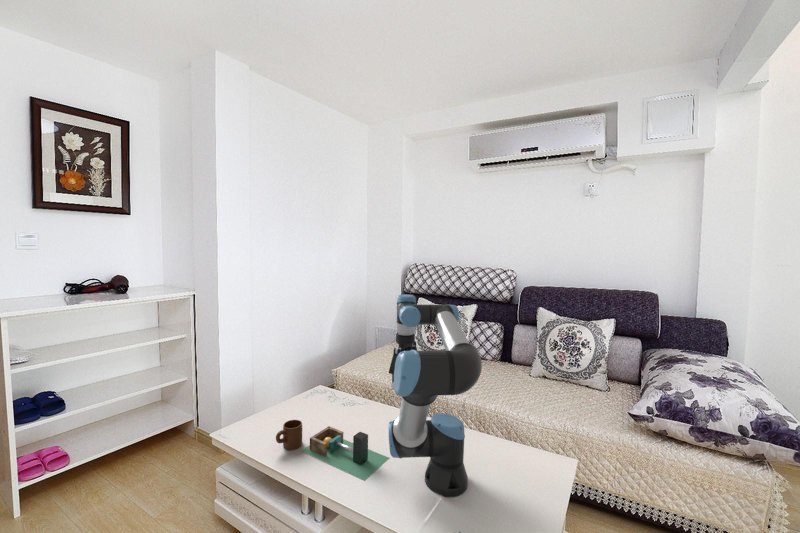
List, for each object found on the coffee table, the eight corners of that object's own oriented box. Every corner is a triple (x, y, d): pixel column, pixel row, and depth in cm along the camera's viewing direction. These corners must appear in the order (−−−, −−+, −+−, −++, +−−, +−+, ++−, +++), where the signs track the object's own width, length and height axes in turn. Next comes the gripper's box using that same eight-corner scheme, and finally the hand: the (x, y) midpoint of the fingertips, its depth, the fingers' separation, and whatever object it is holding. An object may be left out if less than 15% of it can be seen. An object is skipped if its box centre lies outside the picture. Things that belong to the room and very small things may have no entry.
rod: (369, 458, 139) (369, 433, 138) (359, 466, 134) (360, 440, 133) (338, 445, 147) (338, 421, 146) (328, 452, 142) (328, 428, 141)
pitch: (389, 459, 140) (389, 457, 140) (364, 482, 126) (364, 480, 126) (328, 434, 157) (328, 433, 157) (300, 452, 143) (300, 451, 143)
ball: (331, 433, 147) (326, 437, 149) (324, 438, 144) (319, 442, 146) (336, 442, 146) (331, 446, 148) (329, 447, 143) (324, 451, 145)
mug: (282, 459, 138) (282, 435, 138) (269, 452, 142) (269, 429, 142) (306, 444, 149) (306, 422, 148) (293, 438, 153) (293, 417, 152)
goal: (343, 443, 149) (343, 431, 149) (324, 456, 140) (324, 444, 139) (328, 437, 153) (328, 426, 153) (309, 449, 144) (309, 438, 144)
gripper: (412, 325, 157) (411, 372, 159) (380, 338, 136) (379, 392, 138) (428, 328, 153) (426, 376, 155) (396, 341, 132) (395, 397, 134)
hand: (404, 384), depth 146 cm, fingers open, 13 cm apart
